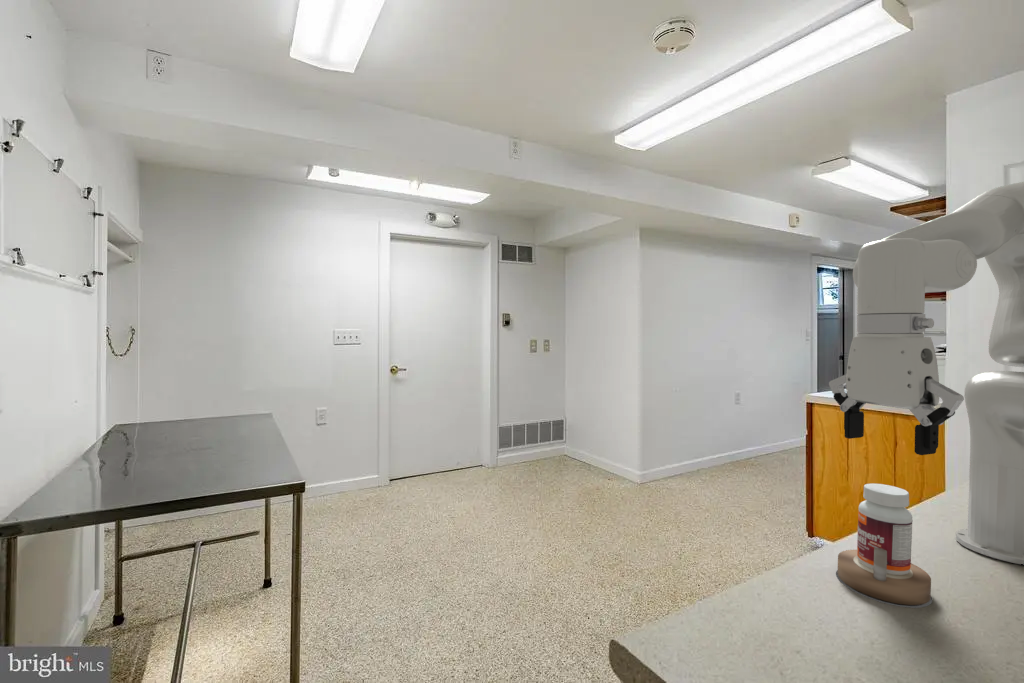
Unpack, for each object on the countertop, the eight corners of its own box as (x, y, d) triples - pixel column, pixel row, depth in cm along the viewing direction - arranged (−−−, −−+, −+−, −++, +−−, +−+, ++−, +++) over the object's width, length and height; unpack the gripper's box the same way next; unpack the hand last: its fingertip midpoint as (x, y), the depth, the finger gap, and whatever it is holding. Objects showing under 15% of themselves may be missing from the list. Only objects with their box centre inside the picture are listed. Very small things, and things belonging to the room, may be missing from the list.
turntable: (842, 558, 76) (843, 518, 76) (930, 582, 69) (932, 538, 68) (832, 584, 68) (833, 540, 68) (930, 614, 61) (932, 565, 61)
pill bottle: (846, 558, 70) (848, 483, 70) (878, 553, 72) (880, 480, 72) (888, 579, 64) (890, 497, 64) (922, 574, 66) (924, 494, 66)
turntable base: (870, 571, 75) (870, 561, 75) (952, 610, 65) (952, 599, 65) (817, 581, 72) (818, 571, 72) (895, 624, 61) (895, 613, 61)
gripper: (982, 326, 60) (978, 458, 61) (849, 326, 77) (847, 430, 77) (942, 327, 58) (939, 464, 59) (814, 327, 74) (813, 434, 75)
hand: (887, 445), depth 68 cm, fingers open, 9 cm apart
